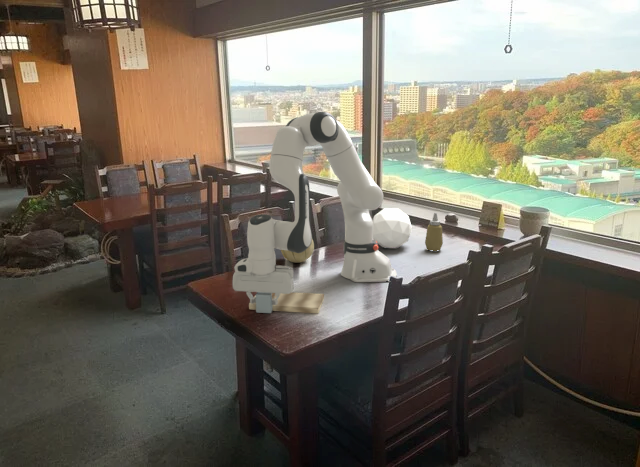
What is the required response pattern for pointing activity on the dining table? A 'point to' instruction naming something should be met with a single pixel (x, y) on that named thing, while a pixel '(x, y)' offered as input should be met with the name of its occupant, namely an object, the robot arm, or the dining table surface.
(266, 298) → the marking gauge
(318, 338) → the dining table surface
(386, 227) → the ball
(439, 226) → the squeeze bottle
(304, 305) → the maple board
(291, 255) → the cantaloupe
